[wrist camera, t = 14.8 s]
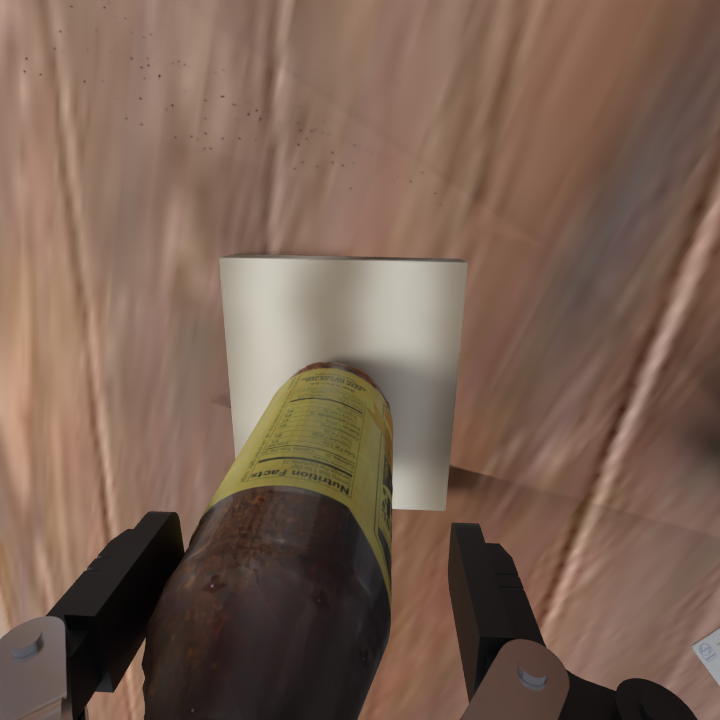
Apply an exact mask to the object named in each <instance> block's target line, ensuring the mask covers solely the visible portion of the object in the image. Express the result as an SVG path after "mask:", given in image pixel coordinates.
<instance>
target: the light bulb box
mask: <svg viewBox="0 0 720 720" xmlns="http://www.w3.org/2000/svg"><path fill="white" fill-rule="evenodd" d="M692 649H693V650H694V652H695V653H696V654H697V656H698V657H699V658H700V660H701V661H702V663H703V664H704V665H705V667H706V668H707V669H708V671H709V672H710V674H711V675H712V677H713V678H714V679H715V680H716V682H717V683H718V685H719V686H720V628H719V629H717V630H716V631H714V632H713V633H711V634H710V635H708V636H706V637H705V638H703V639H702V640H700V641H699V642H697V643H696V644H694V645H693V646H692Z"/></svg>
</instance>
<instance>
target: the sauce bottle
mask: <svg viewBox="0 0 720 720" xmlns="http://www.w3.org/2000/svg"><path fill="white" fill-rule="evenodd" d="M392 478H393V421H392V417H391V413H390V406H389V403H388V402H387V401H386V398H385V396H384V395H383V393H382V391H381V389H380V388H379V386H378V385H377V384H376V383H375V382H374V381H373V380H372V379H371V378H370V377H369V375H368V374H366V373H365V372H363V371H362V370H361V369H358V368H355V367H352V366H349V365H346V364H341V363H332V362H327V363H324V362H317V363H313V364H310V365H307V366H306V367H305V368H303V369H301V370H299V371H298V372H296V373H295V374H294V375H293V376H292V377H291V378H290V379H289V380H287V381H286V383H284V384H283V385H282V386H281V387H280V388H279V389H278V391H277V392H276V393H275V394H274V396H273V398H272V400H271V401H270V403H269V405H268V407H267V408H266V410H265V412H264V413H263V415H262V416H261V418H260V420H259V421H258V423H257V425H256V426H255V428H254V430H253V431H252V433H251V435H250V436H249V438H248V440H247V441H246V443H245V445H244V446H243V448H242V450H241V451H240V453H239V455H238V456H237V458H236V460H235V462H234V463H233V465H232V467H231V468H230V470H229V472H228V473H227V475H226V477H225V478H224V480H223V482H222V483H221V485H220V487H219V488H218V490H217V492H216V493H215V495H214V497H213V498H212V500H211V502H210V503H209V505H208V507H207V509H206V510H205V512H204V514H203V515H202V517H201V519H200V521H199V524H198V526H197V528H196V529H195V531H194V533H193V535H192V537H191V540H190V543H189V548H188V549H187V550H186V552H185V554H184V557H183V559H182V561H181V562H180V564H179V565H178V567H177V568H176V570H175V571H174V572H173V573H172V575H171V577H170V578H169V580H168V581H167V582H166V584H165V586H164V588H163V592H162V594H161V595H160V597H159V601H158V603H157V605H156V607H155V609H154V612H153V614H152V616H151V618H150V619H149V621H148V624H147V630H146V644H145V651H144V656H143V660H142V669H143V671H144V675H145V681H144V684H143V688H142V689H143V694H144V701H145V715H144V720H357V719H358V716H359V714H360V711H361V709H362V706H363V704H364V701H365V699H366V696H367V694H368V691H369V689H370V686H371V684H372V681H373V679H374V676H375V674H376V671H377V669H378V666H379V664H380V661H381V659H382V656H383V654H384V651H385V648H386V646H387V643H388V639H389V634H390V625H391V596H392V594H391V541H392V495H393V484H392Z"/></svg>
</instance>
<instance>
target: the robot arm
mask: <svg viewBox="0 0 720 720" xmlns="http://www.w3.org/2000/svg"><path fill="white" fill-rule="evenodd" d="M184 554H185V553H184V546H183V540H182V533H181V527H180V520H179V516H178V514H177V513H176V512H155V511H150V512H148V513H147V514H146V515H145V516H144V517H143V518H142V520H141V521H140V522H139V523H138V524H137V526H136V527H135V528H134V529H127V530H126V531H124V532H123V533H121V534H120V535H118V536H117V537H116V538H114V539H113V540H111V541H110V542H109V543H108V544H107V546H106V547H105V548H104V549H103V550H102V551H101V552H100V554H99V555H98V557H97V559H94V561H93V562H92V563H91V564H90V565H89V566H88V568H87V571H84V572H83V573H82V574H81V576H80V577H79V578H78V579H77V580H76V581H75V583H74V584H73V585H72V586H71V587H70V588H69V590H68V591H67V592H66V593H65V594H64V595H63V596H62V598H61V599H60V600H59V601H58V602H57V603H56V605H55V606H54V607H53V608H52V609H51V610H50V612H49V613H48V614H47V615H46V616H45V617H39V618H35V619H32V620H29V621H27V622H25V623H22V624H21V625H19V626H17V627H15V628H14V629H12V630H11V631H9V632H8V633H7V634H6V635H4V636H3V637H2V638H1V639H0V720H89V716H88V709H87V703H88V702H89V700H90V698H91V697H92V695H93V694H94V692H112V693H114V691H115V689H116V688H117V686H118V684H119V682H120V681H121V679H122V677H123V675H124V674H125V672H126V670H127V669H128V667H129V665H130V663H131V662H132V660H133V658H134V656H135V655H136V653H137V651H138V650H139V648H140V646H141V644H142V643H143V641H144V639H145V637H146V630H147V624H148V621H149V619H150V618H151V616H152V614H153V612H154V609H155V607H156V605H157V603H158V601H159V597H160V595H161V594H162V592H163V588H164V586H165V584H166V582H167V581H168V580H169V578H170V577H171V575H172V573H173V572H174V571H175V570H176V568H177V567H178V565H179V564H180V562H181V561H182V559H183V557H184ZM448 582H449V591H450V597H451V602H452V608H453V614H454V619H455V625H456V631H457V637H458V642H459V648H460V654H461V659H462V665H463V671H464V677H465V682H466V688H467V694H468V699H469V705H468V707H467V708H466V710H465V712H464V714H463V715H462V717H461V719H460V720H697V718H696V717H695V715H694V714H693V712H692V711H691V710H690V709H689V707H688V706H687V705H686V704H685V703H684V702H683V701H682V700H681V699H680V698H678V697H677V696H676V695H675V694H674V693H672V692H671V691H669V690H668V689H666V688H664V687H663V686H661V685H659V684H657V683H654V682H652V681H649V680H645V679H640V678H632V679H627V680H625V681H623V682H622V683H620V684H619V686H618V687H617V690H616V691H614V690H611V689H609V688H606V687H603V686H600V685H597V684H595V683H592V682H589V681H586V680H584V679H581V678H579V677H577V676H575V675H574V674H572V673H570V672H569V671H568V670H566V669H565V667H564V665H563V664H562V662H561V661H560V660H559V658H558V657H557V656H556V655H555V654H554V653H553V652H551V651H550V650H549V649H547V648H546V645H545V643H544V641H543V638H542V636H541V633H540V630H539V628H538V625H537V622H536V620H535V617H534V614H533V612H532V609H531V607H530V604H529V601H528V599H527V596H526V593H525V591H524V590H523V585H522V583H521V580H520V578H519V577H518V572H517V570H516V567H515V564H514V562H513V559H512V557H511V556H510V555H509V554H508V553H507V552H506V551H505V550H504V548H503V547H502V546H501V545H500V544H494V543H485V541H484V537H483V534H482V531H481V528H480V525H479V524H475V523H452V525H451V535H450V548H449V562H448Z"/></svg>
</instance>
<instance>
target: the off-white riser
mask: <svg viewBox="0 0 720 720" xmlns="http://www.w3.org/2000/svg"><path fill="white" fill-rule="evenodd" d="M219 263H220V275H221V287H222V300H223V312H224V324H225V336H226V348H227V361H228V373H229V385H230V397H231V409H232V422H233V434H234V446H235V458H237V456H238V455H239V453H240V451H241V450H242V448H243V446H244V445H245V443H246V441H247V440H248V438H249V436H250V435H251V433H252V431H253V430H254V428H255V426H256V425H257V423H258V421H259V420H260V418H261V416H262V415H263V413H264V412H265V410H266V408H267V407H268V405H269V403H270V401H271V400H272V398H273V396H274V394H275V393H276V392H277V391H278V389H279V388H280V387H281V386H282V385H283V384H284V383H286V381H287V380H289V379H290V378H291V377H292V376H293V375H294V374H295V373H296V372H298V371H299V370H301V369H303V368H305V367H306V366H307V365H310V364H313V363H317V362H324V363H327V362H332V363H341V364H346V365H349V366H352V367H355V368H358V369H361V370H362V371H363V372H365V373H366V374H368V375H369V377H370V378H371V379H372V380H373V381H374V382H375V383H376V384H377V385H378V386H379V388H380V389H381V391H382V393H383V395H384V396H385V398H386V401H387V402H388V403H389V406H390V413H391V417H392V421H393V478H392V484H393V495H392V509H411V510H436V511H445V508H446V497H447V486H448V475H449V464H450V453H451V442H452V431H453V420H454V409H455V398H456V387H457V376H458V366H459V355H460V344H461V333H462V322H463V311H464V300H465V289H466V278H467V267H468V263H467V262H465V261H463V260H461V259H446V258H398V257H349V256H300V255H251V254H233V255H229V256H224V257H220V258H219Z"/></svg>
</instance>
